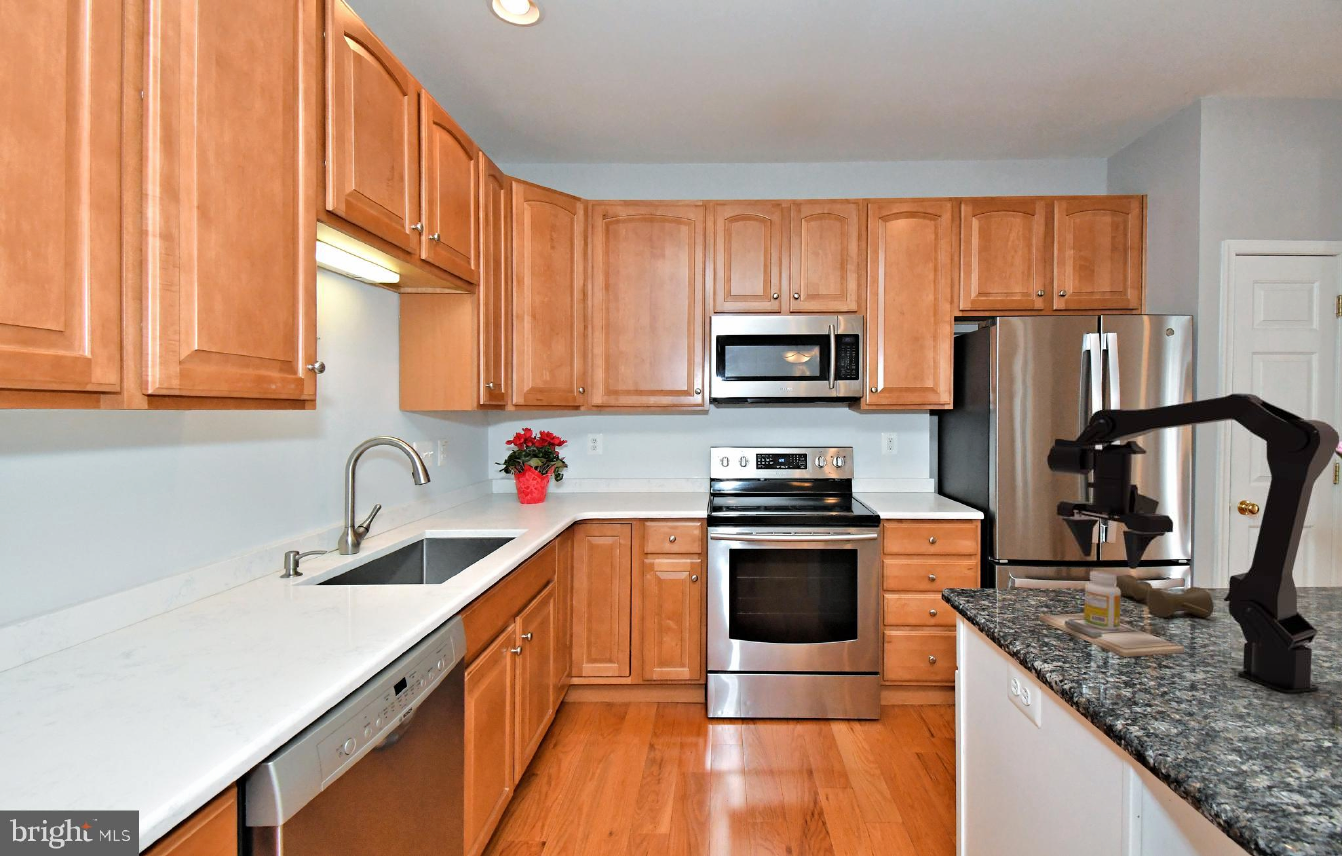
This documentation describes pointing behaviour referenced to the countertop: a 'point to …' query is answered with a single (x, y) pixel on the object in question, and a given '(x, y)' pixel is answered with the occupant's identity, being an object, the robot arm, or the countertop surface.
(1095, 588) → the supplement bottle
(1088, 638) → the beige rectangular board
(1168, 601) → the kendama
